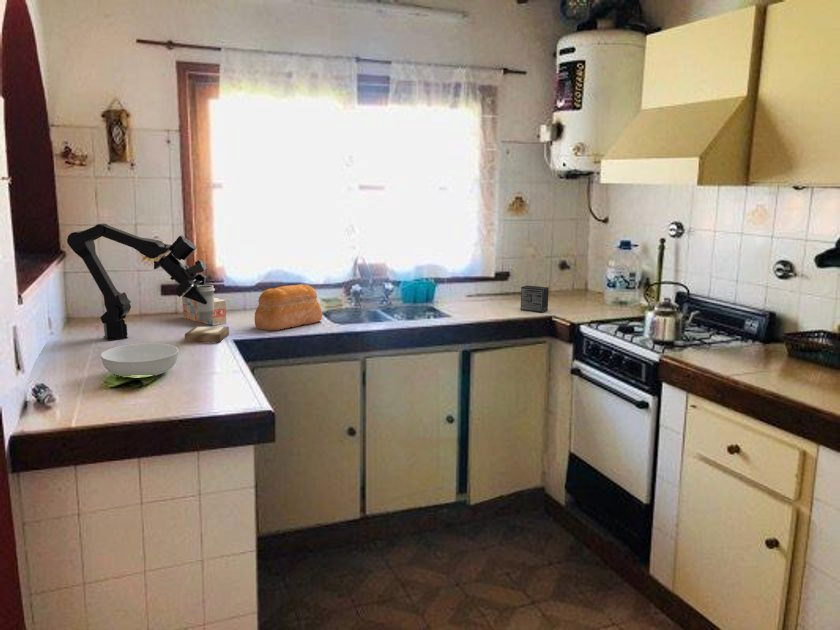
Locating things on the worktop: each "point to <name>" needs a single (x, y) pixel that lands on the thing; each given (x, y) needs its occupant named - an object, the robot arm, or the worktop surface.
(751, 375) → the worktop surface
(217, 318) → the stack of blocks
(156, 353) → the serving bowl
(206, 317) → the cup
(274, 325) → the bread
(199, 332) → the plinth
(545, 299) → the small box
